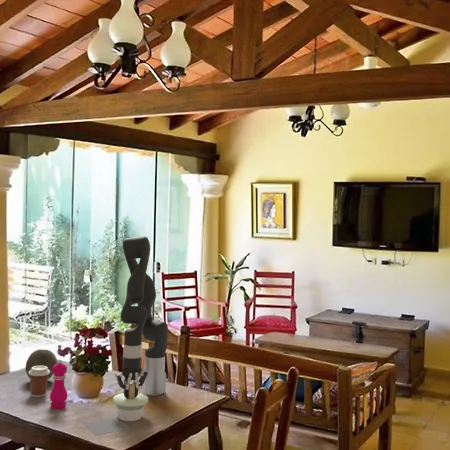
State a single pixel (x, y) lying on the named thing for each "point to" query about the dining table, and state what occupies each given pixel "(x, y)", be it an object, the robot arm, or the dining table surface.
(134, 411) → the ramekin
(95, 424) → the mat
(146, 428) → the dining table surface
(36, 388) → the coffee cup
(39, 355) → the cantaloupe
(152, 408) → the dining table surface
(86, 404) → the dining table surface
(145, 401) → the lid
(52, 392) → the pepper mill
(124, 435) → the dining table surface
